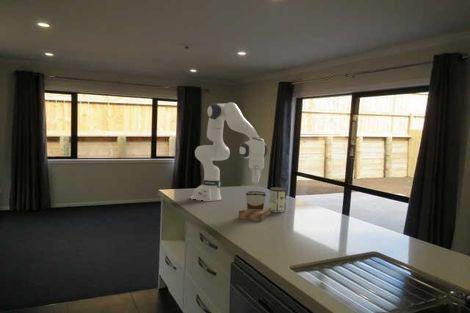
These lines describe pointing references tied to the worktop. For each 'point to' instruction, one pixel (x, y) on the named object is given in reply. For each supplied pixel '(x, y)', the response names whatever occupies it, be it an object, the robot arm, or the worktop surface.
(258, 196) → the food container
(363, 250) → the worktop surface
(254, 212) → the walnut block
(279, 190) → the coffee can
